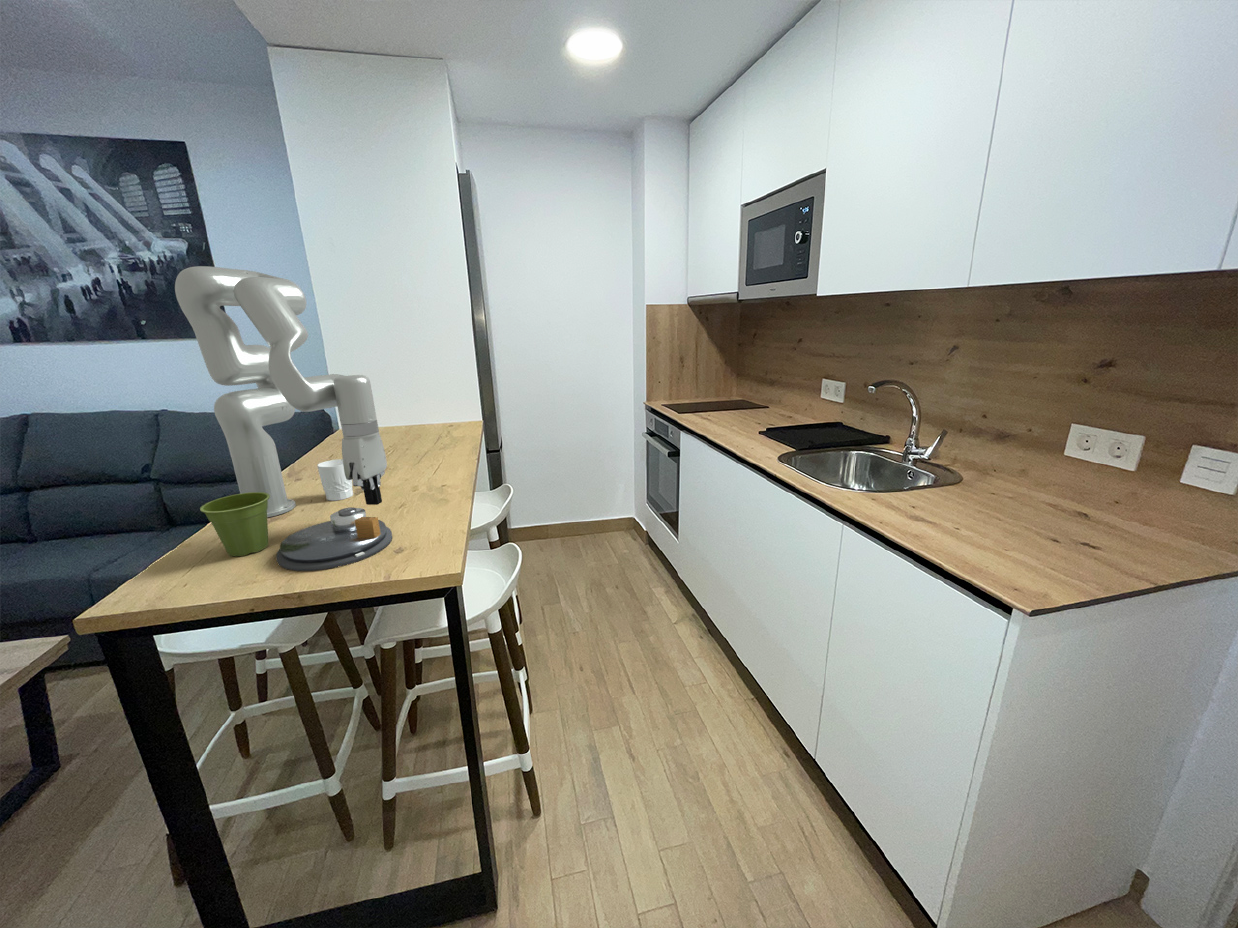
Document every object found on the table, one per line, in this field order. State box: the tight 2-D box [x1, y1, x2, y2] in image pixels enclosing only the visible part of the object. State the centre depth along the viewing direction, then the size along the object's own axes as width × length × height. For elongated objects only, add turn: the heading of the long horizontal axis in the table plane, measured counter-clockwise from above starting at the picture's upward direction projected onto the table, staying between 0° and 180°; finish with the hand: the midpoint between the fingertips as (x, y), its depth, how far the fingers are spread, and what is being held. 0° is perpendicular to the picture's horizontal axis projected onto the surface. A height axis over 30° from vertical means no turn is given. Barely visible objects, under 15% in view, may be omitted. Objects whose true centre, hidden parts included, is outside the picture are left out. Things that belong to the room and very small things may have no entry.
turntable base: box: [275, 526, 393, 572], centre depth 107 cm, size 22×22×1 cm
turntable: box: [279, 516, 387, 563], centre depth 106 cm, size 20×20×6 cm
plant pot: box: [199, 492, 270, 557], centre depth 105 cm, size 12×12×11 cm
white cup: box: [316, 458, 354, 502], centre depth 138 cm, size 8×8×10 cm
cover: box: [329, 506, 367, 532], centre depth 111 cm, size 7×7×4 cm
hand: (374, 503), depth 119 cm, fingers closed
